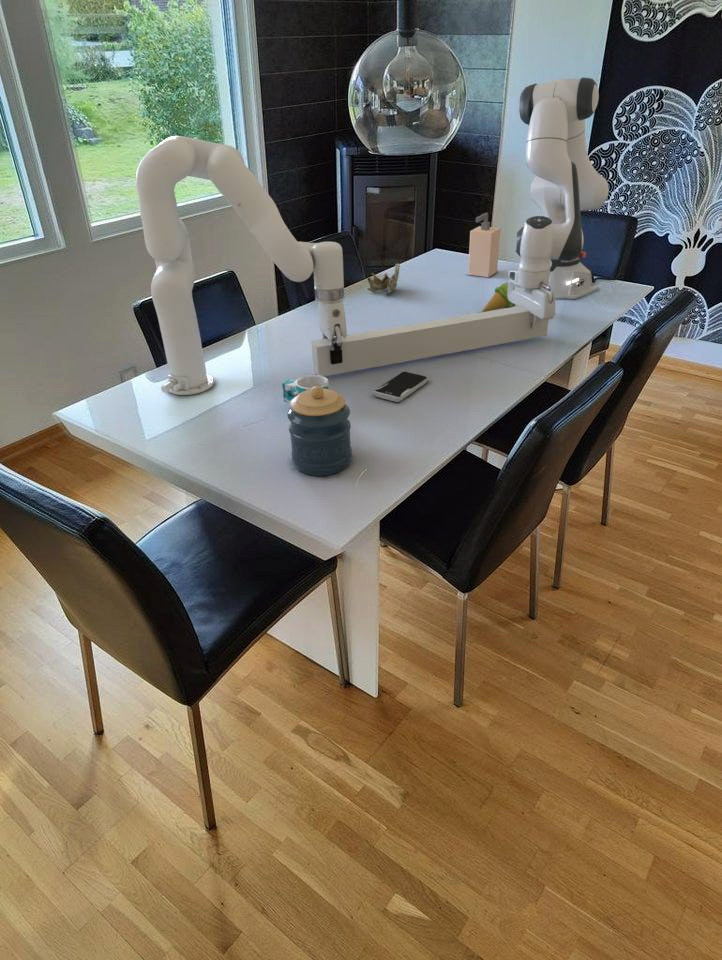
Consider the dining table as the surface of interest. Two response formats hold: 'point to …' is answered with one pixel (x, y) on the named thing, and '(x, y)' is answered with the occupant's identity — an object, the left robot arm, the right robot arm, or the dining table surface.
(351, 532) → the dining table surface
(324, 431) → the canister
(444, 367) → the dining table surface
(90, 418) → the dining table surface
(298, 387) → the mug
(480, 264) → the soap dispenser
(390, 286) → the gold crown
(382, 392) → the smartphone
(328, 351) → the post
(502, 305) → the toy
